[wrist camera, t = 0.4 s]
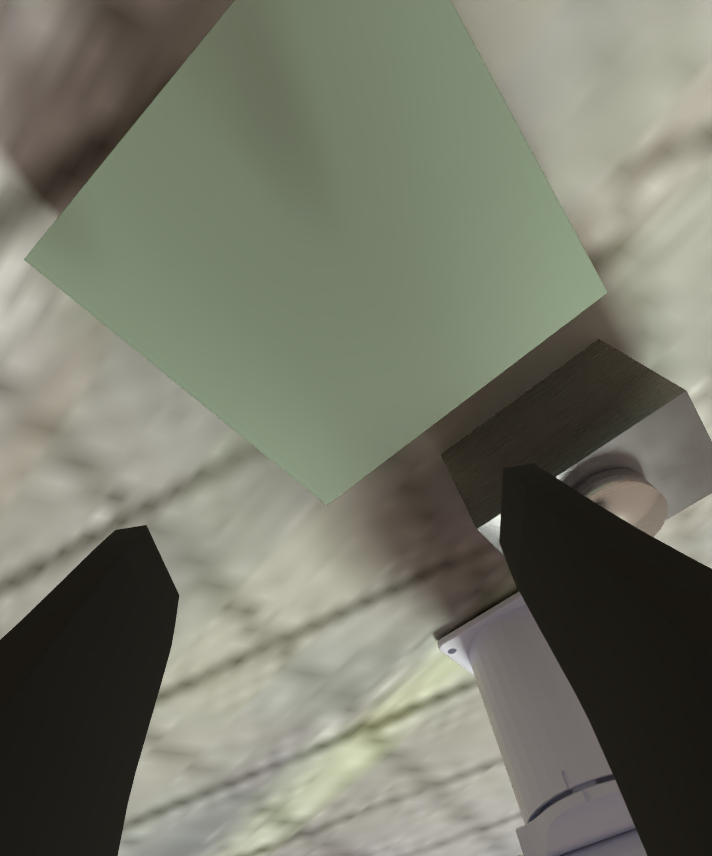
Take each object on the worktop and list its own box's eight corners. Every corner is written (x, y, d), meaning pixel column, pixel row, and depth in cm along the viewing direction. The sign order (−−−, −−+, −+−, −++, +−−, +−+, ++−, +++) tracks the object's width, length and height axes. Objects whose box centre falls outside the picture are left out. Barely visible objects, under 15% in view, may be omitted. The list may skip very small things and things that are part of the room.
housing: (642, 415, 21) (755, 498, 16) (496, 512, 23) (553, 614, 18) (597, 338, 19) (710, 405, 13) (440, 453, 21) (486, 549, 16)
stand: (561, 272, 17) (607, 292, 14) (323, 461, 20) (327, 505, 17) (350, -89, 12) (364, -160, 9) (72, 243, 15) (24, 259, 12)
